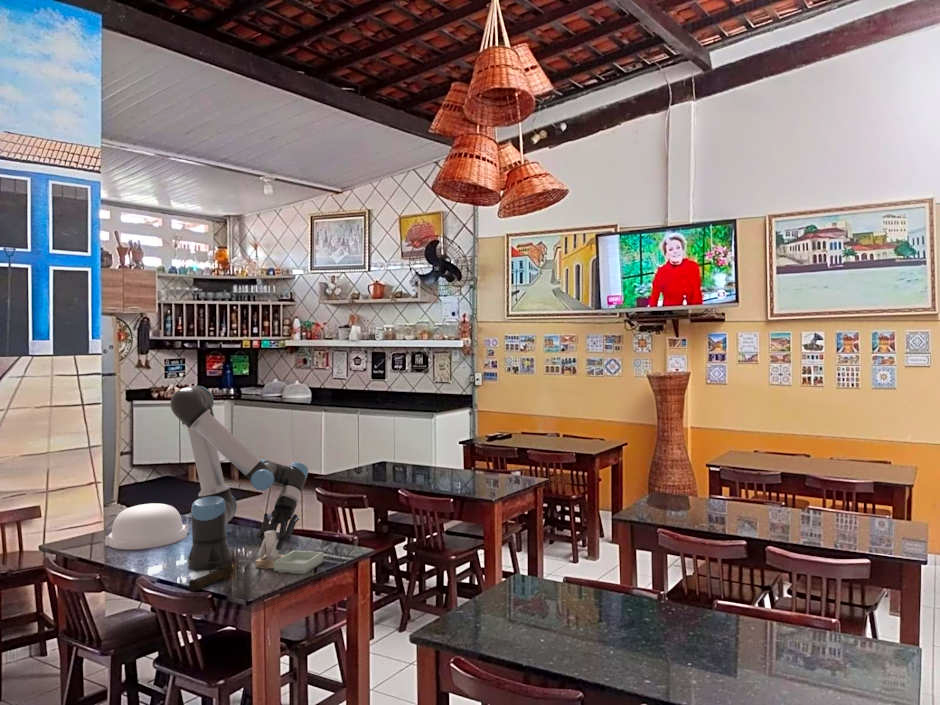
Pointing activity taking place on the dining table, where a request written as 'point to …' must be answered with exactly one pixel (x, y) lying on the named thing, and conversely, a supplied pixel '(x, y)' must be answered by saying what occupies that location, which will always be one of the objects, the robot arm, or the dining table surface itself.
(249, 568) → the dining table surface
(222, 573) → the hand tool
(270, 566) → the slotted holder
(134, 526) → the dome cover
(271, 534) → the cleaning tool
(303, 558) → the tray
